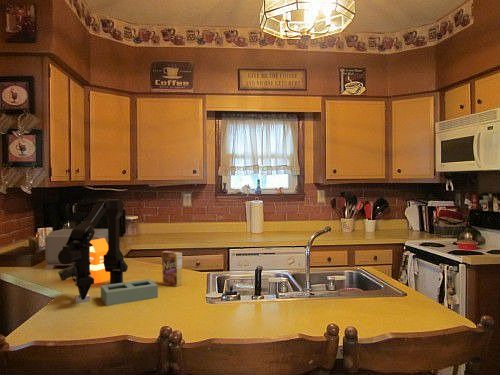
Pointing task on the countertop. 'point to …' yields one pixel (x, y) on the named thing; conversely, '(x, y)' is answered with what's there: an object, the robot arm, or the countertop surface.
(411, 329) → the countertop surface
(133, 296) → the grey holed block
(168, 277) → the candy box
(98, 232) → the toaster
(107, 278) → the orange juice
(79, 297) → the steel tile
